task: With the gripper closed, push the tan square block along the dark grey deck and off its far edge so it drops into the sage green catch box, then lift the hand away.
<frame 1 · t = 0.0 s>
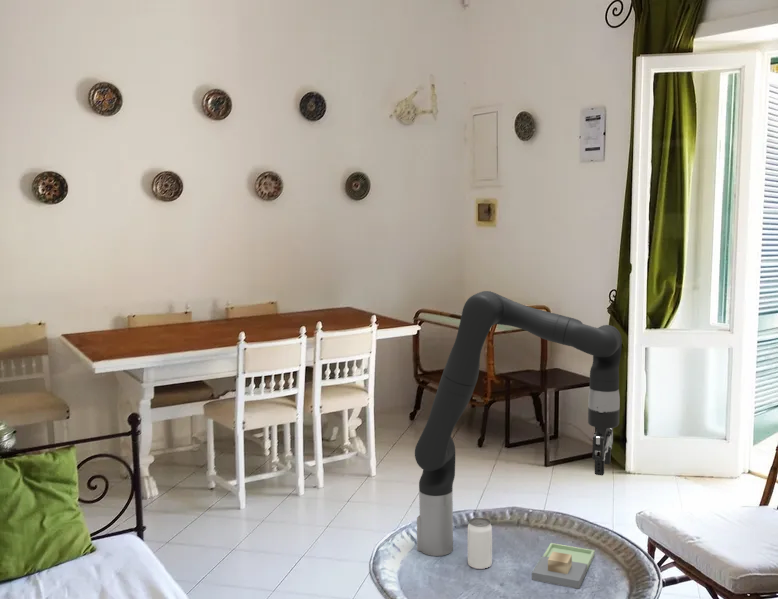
hand: (602, 469, 205), 29 cm above the table, tool pointing down, fingers open, 8 cm apart
deck: (559, 575, 211), on the table
tan square block: (559, 568, 211), point 2 cm above the table, touching deck
can: (479, 565, 218), on the table
catch box: (568, 559, 220), on the table
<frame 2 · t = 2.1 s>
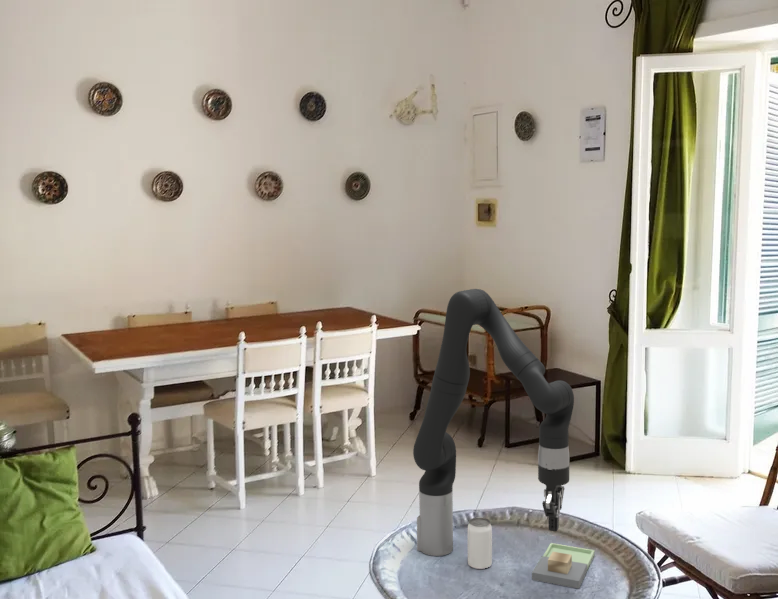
hand: (553, 529, 202), 15 cm above the table, tool pointing down, fingers closed
nothing on the table moved.
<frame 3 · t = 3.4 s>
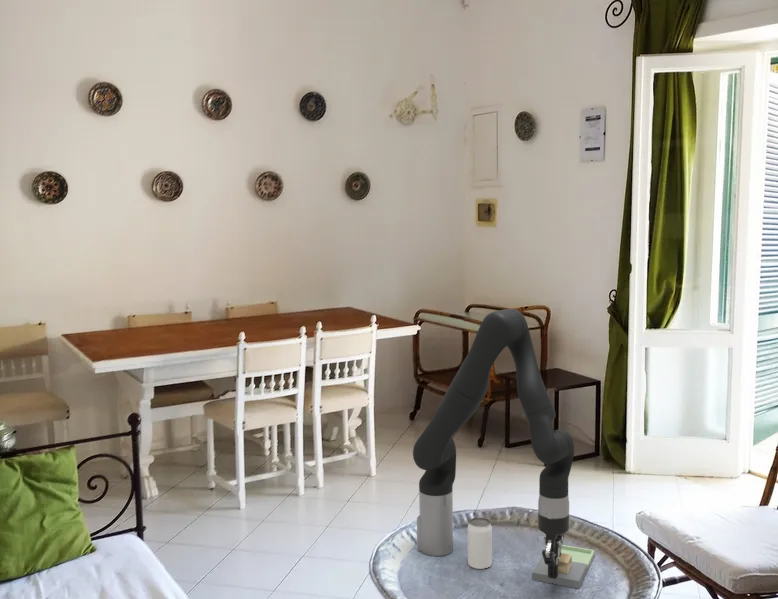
hand: (552, 577, 204), 3 cm above the table, tool pointing down, fingers closed
nothing on the table moved.
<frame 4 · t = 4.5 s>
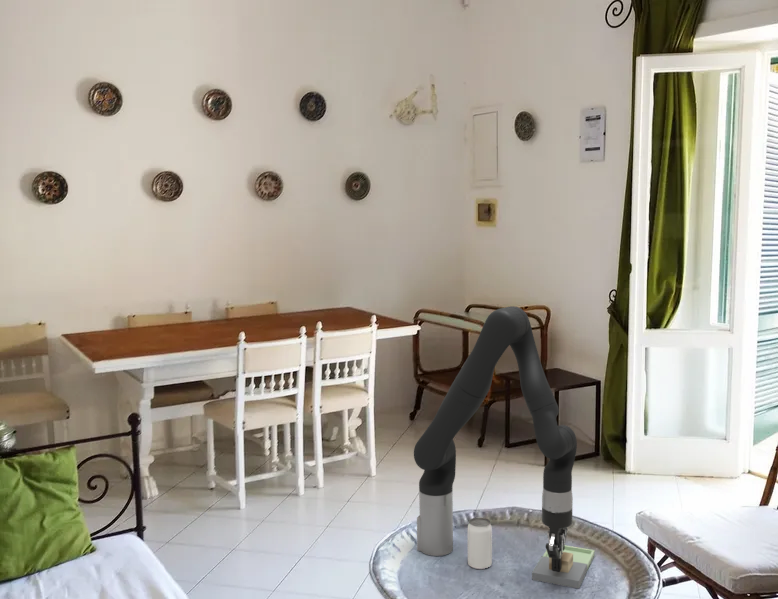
hand: (556, 570, 208), 3 cm above the table, tool pointing down, fingers closed
tan square block: (561, 566, 212), point 2 cm above the table, touching gripper
everything else where it was.
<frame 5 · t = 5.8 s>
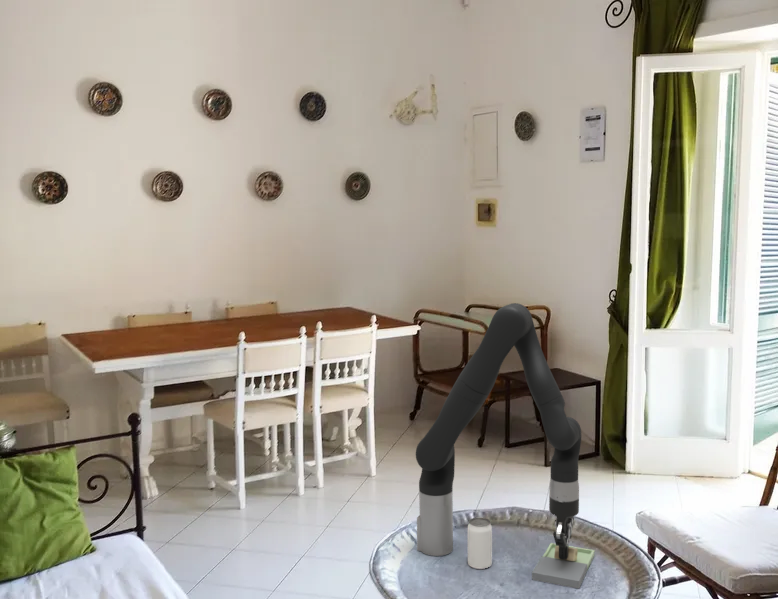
hand: (563, 558, 214), 3 cm above the table, tool pointing down, fingers closed
tan square block: (565, 559, 217), point 1 cm above the table, tilted 22°, touching catch box, gripper
everything else where it was.
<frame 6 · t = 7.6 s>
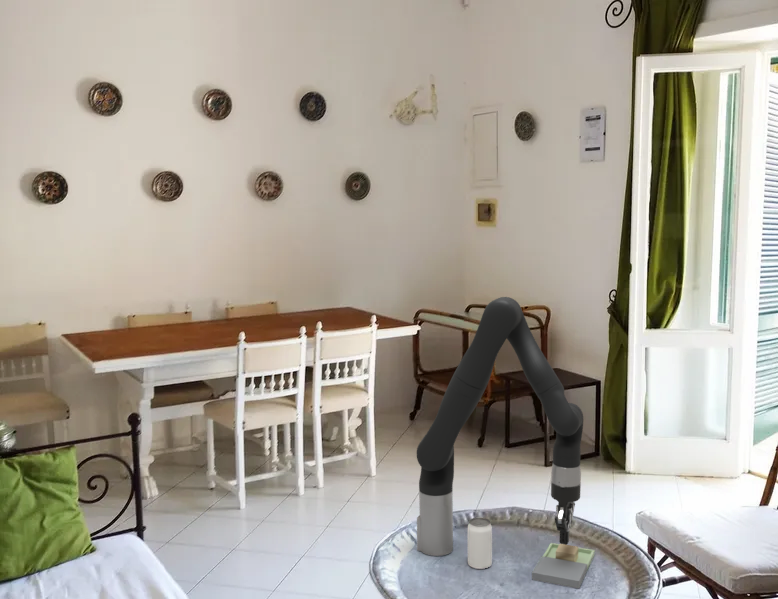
hand: (564, 543, 216), 6 cm above the table, tool pointing down, fingers closed
tan square block: (566, 559, 219), resting on catch box
everything else where it was.
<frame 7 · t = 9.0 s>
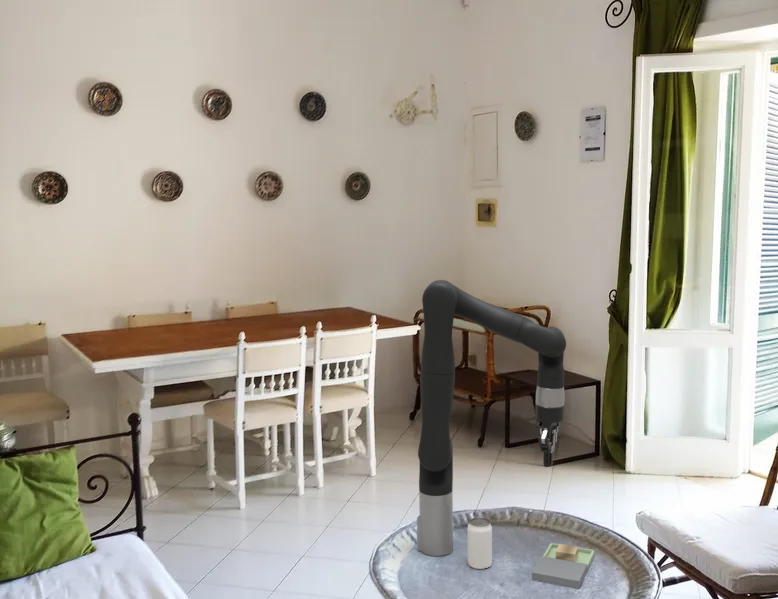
hand: (548, 464, 220), 25 cm above the table, tool pointing down, fingers closed
nothing on the table moved.
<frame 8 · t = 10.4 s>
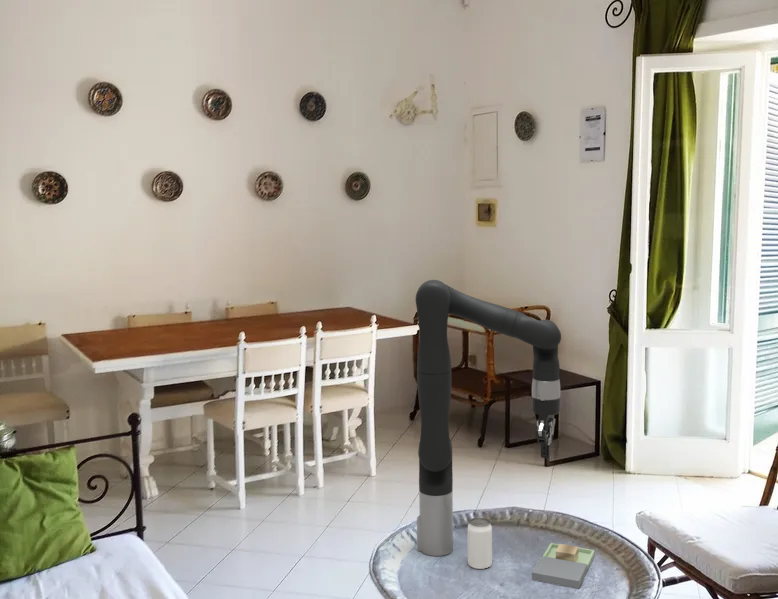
hand: (545, 457, 221), 27 cm above the table, tool pointing down, fingers closed
nothing on the table moved.
at the end: tan square block inside the target area (1.7 cm from its centre), point 0.5 cm above the table; tan square block touching catch box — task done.
